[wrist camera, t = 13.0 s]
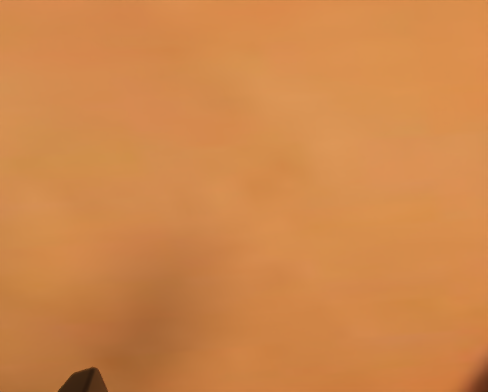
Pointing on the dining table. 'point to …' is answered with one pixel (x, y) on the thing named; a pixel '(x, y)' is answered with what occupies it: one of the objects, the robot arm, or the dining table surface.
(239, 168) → the dining table surface
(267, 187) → the dining table surface
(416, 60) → the dining table surface
